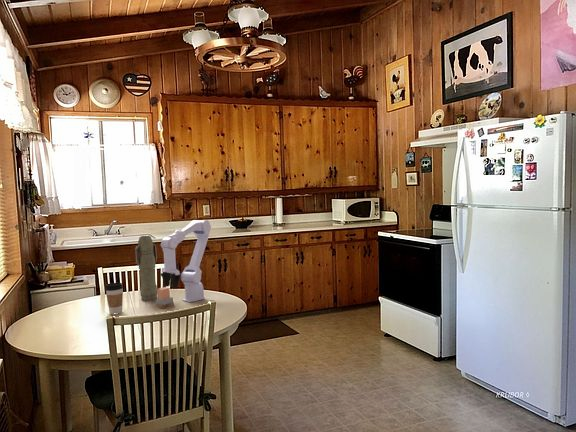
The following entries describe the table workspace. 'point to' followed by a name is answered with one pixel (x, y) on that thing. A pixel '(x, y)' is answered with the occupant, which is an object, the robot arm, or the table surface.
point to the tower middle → (164, 301)
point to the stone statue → (147, 267)
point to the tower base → (164, 305)
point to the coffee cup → (114, 297)
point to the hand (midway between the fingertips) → (171, 287)
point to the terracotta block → (163, 293)
